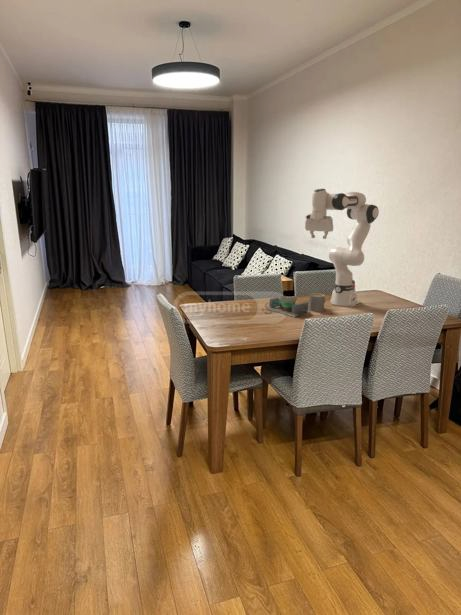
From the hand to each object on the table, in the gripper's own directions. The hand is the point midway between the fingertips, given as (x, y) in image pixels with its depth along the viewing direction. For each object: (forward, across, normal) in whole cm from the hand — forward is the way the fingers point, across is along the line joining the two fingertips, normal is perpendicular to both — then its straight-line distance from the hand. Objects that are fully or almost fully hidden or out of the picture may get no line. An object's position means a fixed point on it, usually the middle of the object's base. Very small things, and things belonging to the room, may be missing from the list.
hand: (318, 238), depth 276 cm
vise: (+47, +13, +14) cm, 50 cm away
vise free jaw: (+44, +22, +15) cm, 52 cm away
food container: (+47, +12, +16) cm, 51 cm away
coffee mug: (+48, +5, -5) cm, 49 cm away
